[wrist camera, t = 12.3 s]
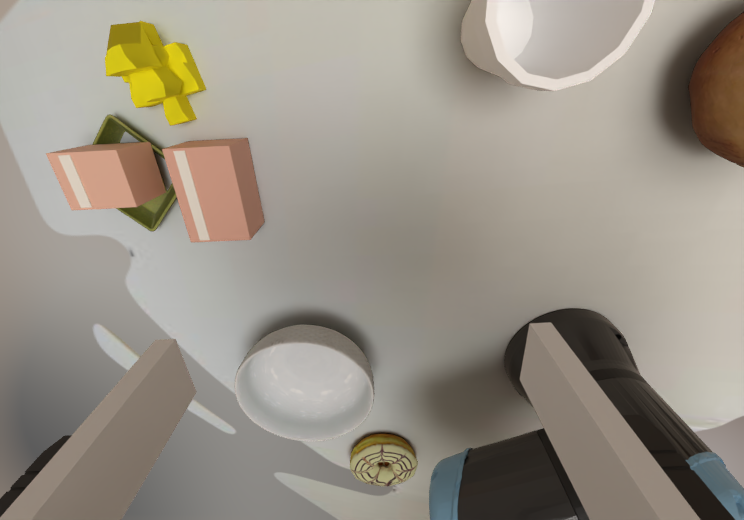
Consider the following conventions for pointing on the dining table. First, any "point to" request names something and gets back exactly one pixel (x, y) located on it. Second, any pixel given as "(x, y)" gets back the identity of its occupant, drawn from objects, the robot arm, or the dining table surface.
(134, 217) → the green square tray
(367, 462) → the decorated donut
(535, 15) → the foam cup
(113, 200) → the pink box
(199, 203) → the pink striped box
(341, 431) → the cereal bowl
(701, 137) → the butternut squash
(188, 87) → the yellow faceted figurine
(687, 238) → the dining table surface
